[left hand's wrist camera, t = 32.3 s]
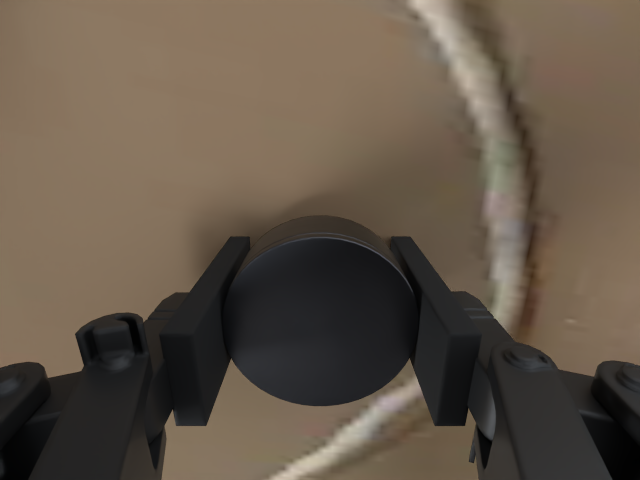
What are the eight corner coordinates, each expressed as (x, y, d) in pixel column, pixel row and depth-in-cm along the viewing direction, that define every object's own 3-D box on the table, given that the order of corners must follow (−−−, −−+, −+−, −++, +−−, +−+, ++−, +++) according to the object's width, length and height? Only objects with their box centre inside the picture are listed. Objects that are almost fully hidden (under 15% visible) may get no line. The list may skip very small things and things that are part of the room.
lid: (228, 348, 13) (212, 391, 11) (248, 199, 11) (232, 218, 9) (379, 372, 13) (390, 418, 11) (424, 232, 11) (446, 258, 9)
